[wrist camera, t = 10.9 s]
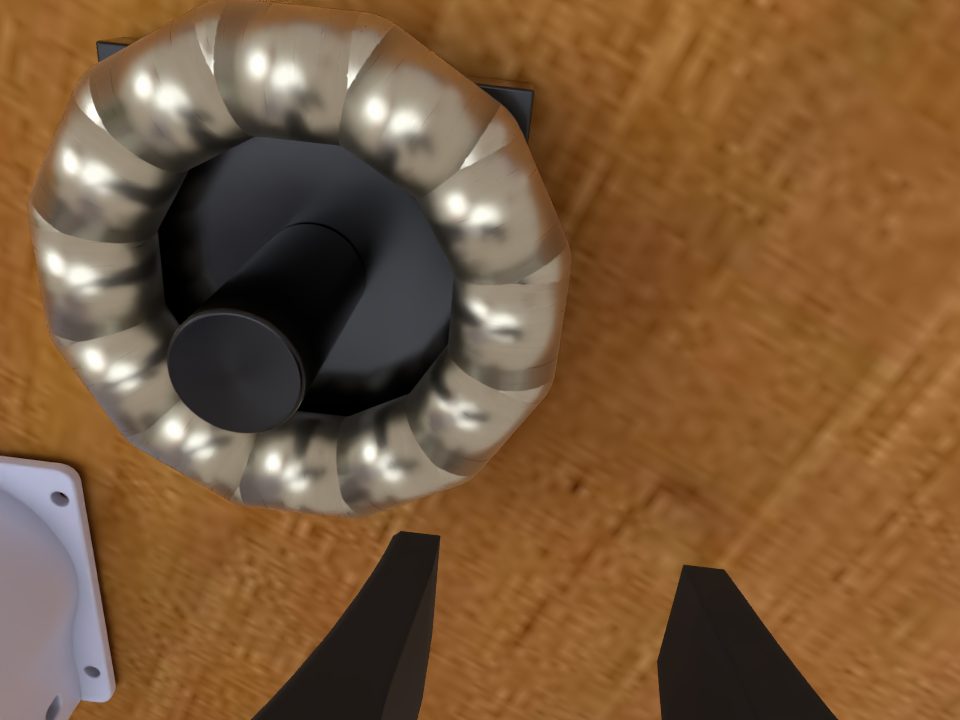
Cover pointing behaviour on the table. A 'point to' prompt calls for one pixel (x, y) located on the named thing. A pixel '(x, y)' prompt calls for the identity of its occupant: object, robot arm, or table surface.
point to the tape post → (302, 279)
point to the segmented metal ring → (317, 119)
